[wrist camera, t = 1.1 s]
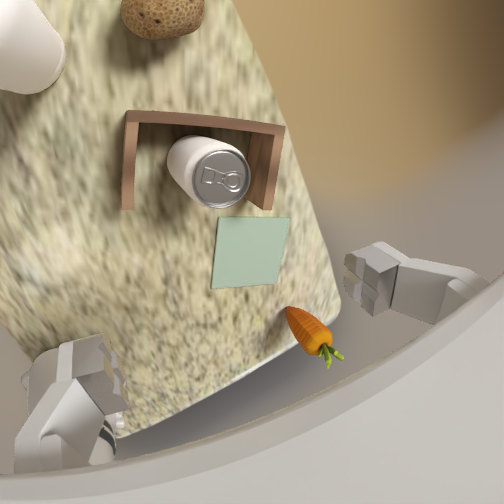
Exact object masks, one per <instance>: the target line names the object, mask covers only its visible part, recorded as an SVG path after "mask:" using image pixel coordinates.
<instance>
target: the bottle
mask: <svg viewBox="0 0 504 504" xmlns="http://www.w3.org/2000/svg"><path fill="white" fill-rule="evenodd" d="M65 61H66V49H65V46H64V43H63V41H62V39H61V38H60V36H59V34H58V33H57V32H55V30H54V29H53V28H52V26H51V25H50V23H49V22H48V21H47V19H46V18H45V16H44V15H43V14H42V12H41V11H40V9H39V8H38V6H37V5H36V4H35V2H34V1H33V0H0V89H2V90H8V91H12V92H14V93H20V94H34V93H38V92H41V91H43V90H45V89H46V88H48V87H50V86H51V85H52V84H53V83H54V82H55V81H56V80H57V79H58V78H59V76H60V74H61V72H62V70H63V68H64V65H65Z"/></svg>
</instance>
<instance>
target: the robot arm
mask: <svg viewBox="0 0 504 504" xmlns="http://www.w3.org/2000/svg"><path fill="white" fill-rule="evenodd" d="M344 265H345V266H346V268H347V270H346V272H345V274H344V279H343V284H344V287H345V290H346V292H347V293H348V295H349V296H350V297H351V298H352V299H354V300H357V301H360V302H361V307H362V308H364V309H365V310H366V311H367V312H368V313H369V314H370V315H371V316H372V317H373V316H375V315H377V314H379V313H381V312H384V311H386V310H388V309H390V308H391V310H394V311H397V312H400V313H402V314H405V315H408V316H410V317H413V318H416V319H418V320H421V321H424V322H426V323H429V324H432V325H434V326H432V327H431V328H429V329H428V330H426V331H425V332H423V333H422V334H421V335H419V336H417V337H416V338H415V339H413V340H411V341H410V342H408V343H406V344H405V345H403V346H402V347H400V348H398V349H397V350H396V351H394V352H392V353H390V354H389V355H387V356H385V357H384V358H382V359H380V360H378V361H377V362H375V363H373V364H372V365H370V366H368V367H366V368H364V369H363V370H361V371H359V372H357V373H355V374H353V375H352V376H350V377H348V378H346V379H344V380H342V381H340V382H338V383H336V384H334V385H332V386H330V387H328V388H326V389H324V390H322V391H320V392H318V393H316V394H314V395H312V396H310V397H308V398H305V399H303V400H301V401H299V402H297V403H294V404H292V405H290V406H288V407H285V408H283V409H281V410H278V411H276V412H274V413H271V414H269V415H267V416H264V417H261V418H259V419H256V420H254V421H251V422H249V423H246V424H243V425H241V426H238V427H235V428H233V429H230V430H227V431H224V432H221V433H218V434H216V435H212V436H210V437H206V438H203V439H200V440H197V441H194V442H191V443H187V444H184V445H180V446H177V447H173V448H170V449H166V450H163V451H159V452H155V453H151V454H147V455H142V456H138V457H134V458H129V459H125V460H121V461H115V458H114V455H115V451H116V449H115V447H116V445H115V444H116V443H115V430H116V429H124V418H123V417H122V414H123V411H125V410H128V409H130V405H129V399H128V393H127V391H126V389H125V385H126V375H125V373H124V370H123V367H122V364H121V361H120V359H119V357H118V355H117V353H116V352H114V351H113V350H111V342H110V340H109V338H108V336H107V335H106V334H105V333H104V332H103V333H99V334H95V335H92V336H88V337H84V338H80V339H76V340H72V341H69V342H65V343H61V345H60V346H59V348H55V349H50V350H48V351H45V352H43V353H42V354H40V355H39V356H38V357H37V358H36V359H35V361H34V362H33V365H32V367H31V369H30V370H29V371H28V372H26V373H25V374H24V375H23V376H22V378H21V382H22V385H23V386H24V388H25V389H26V390H27V414H28V417H29V418H28V419H27V421H26V422H25V424H24V425H23V427H22V429H21V430H20V432H19V433H18V435H17V437H16V438H15V447H14V474H0V504H504V272H503V273H502V274H501V275H499V276H498V277H497V278H496V279H495V280H493V281H492V282H491V283H489V282H488V281H486V280H485V279H483V278H482V277H480V276H479V275H477V274H476V273H474V272H473V271H471V270H469V269H466V268H462V267H457V266H452V265H447V264H442V263H436V262H431V261H426V260H421V259H416V258H413V259H410V258H408V257H407V256H405V255H404V254H402V253H400V252H399V251H397V250H396V249H394V248H392V247H391V246H389V245H387V244H386V243H384V242H381V241H378V242H376V243H373V244H371V245H369V246H367V247H364V248H362V249H359V250H356V251H353V252H351V253H348V254H346V257H345V263H344Z"/></svg>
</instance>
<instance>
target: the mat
mask: <svg viewBox="0 0 504 504" xmlns="http://www.w3.org/2000/svg"><path fill="white" fill-rule="evenodd" d="M289 219H290V218H288V217H218V225H217V234H216V243H215V252H214V262H213V271H212V281H211V289H216V288H229V287H241V286H252V285H263V284H274V283H277V280H278V275H279V270H280V265H281V260H282V255H283V250H284V245H285V240H286V235H287V230H288V224H289Z"/></svg>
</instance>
